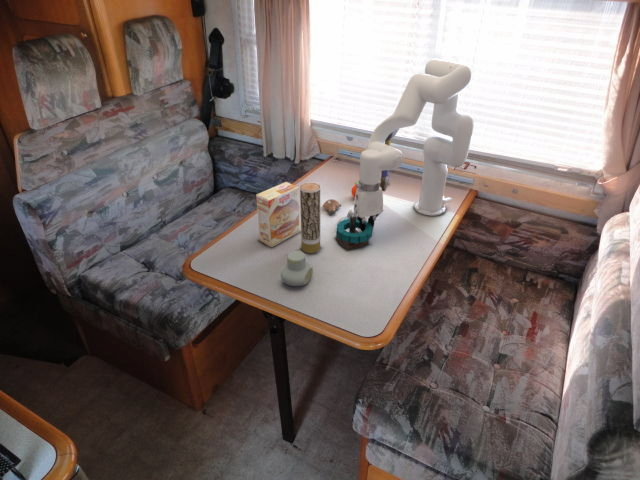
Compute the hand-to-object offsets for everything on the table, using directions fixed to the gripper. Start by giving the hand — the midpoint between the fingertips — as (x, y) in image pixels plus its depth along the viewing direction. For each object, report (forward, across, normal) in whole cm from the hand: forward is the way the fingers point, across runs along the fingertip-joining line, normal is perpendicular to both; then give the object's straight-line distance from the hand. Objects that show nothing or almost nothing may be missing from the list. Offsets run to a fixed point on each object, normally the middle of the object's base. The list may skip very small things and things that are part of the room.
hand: (366, 229), depth 167 cm
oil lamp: (+4, -2, +25) cm, 25 cm away
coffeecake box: (+4, -29, +15) cm, 33 cm away
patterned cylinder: (+4, -22, +2) cm, 22 cm away
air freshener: (+4, -34, -13) cm, 37 cm away
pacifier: (+4, -1, +13) cm, 14 cm away
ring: (0, -5, 0) cm, 5 cm away
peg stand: (+4, -6, 0) cm, 7 cm away
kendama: (+4, +13, +16) cm, 21 cm away
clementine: (+4, +14, +30) cm, 33 cm away
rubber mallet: (+4, +32, +37) cm, 49 cm away
